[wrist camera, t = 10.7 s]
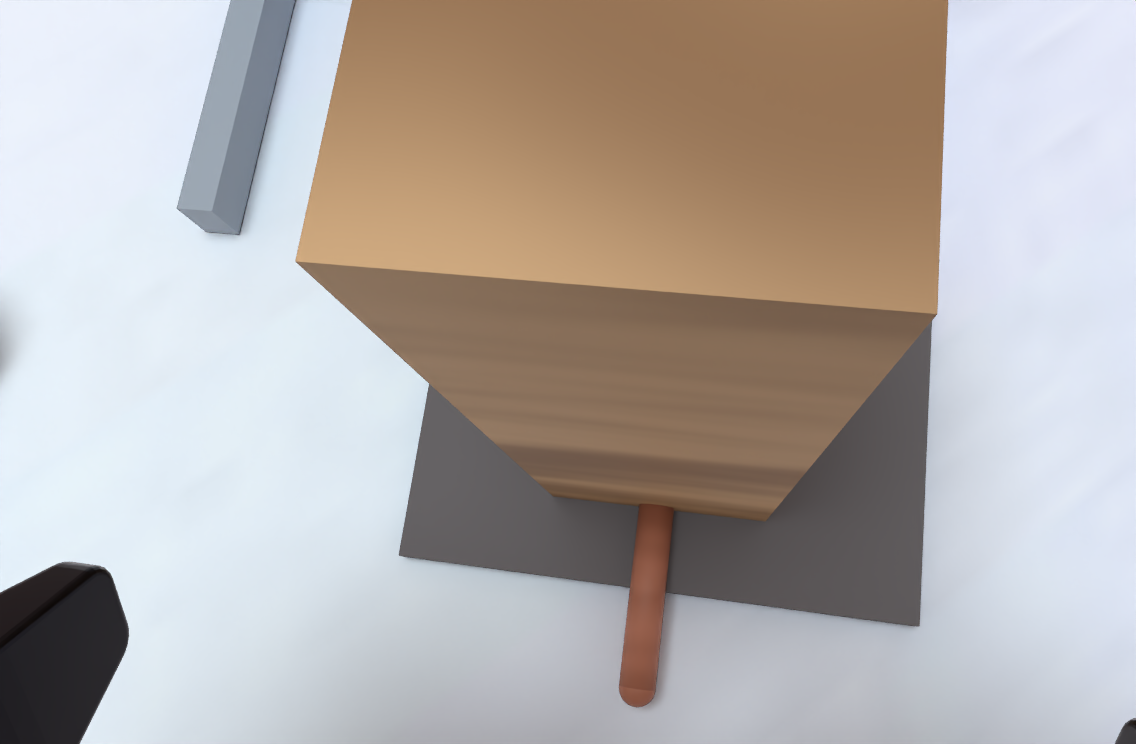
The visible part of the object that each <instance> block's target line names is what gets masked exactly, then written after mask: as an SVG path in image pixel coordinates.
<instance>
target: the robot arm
mask: <svg viewBox="0 0 1136 744" xmlns="http://www.w3.org/2000/svg"><path fill="white" fill-rule="evenodd" d="M128 638H129V628H128V623H127V620H126V617H125V614H124V611H123V608H122V605H121V602H120V599H119V596H118V593H117V590H116V587H115V584H114V581H113V578H112V576H111V574H110V573H109V572H108V571H107V570H106V569H105V568H104V567H101V566H97V565H90V564H83V563H77V562H62V563H58V564H56V565H54V566H52V567H50V568H48V569H46V570H44V571H42V572H40V573H38V574H36V575H34V576H32V577H30V578H28V579H26V580H24V581H22V582H20V583H18V584H16V585H14V586H12V587H10V588H8V589H6V590H4V591H3V592H1V593H0V744H80V742H81V740H82V738H83V736H84V734H85V732H86V730H87V728H88V726H89V724H90V722H91V720H92V718H93V716H94V714H95V712H96V710H97V708H98V706H99V704H100V702H101V700H102V698H103V696H104V694H105V692H106V690H107V688H108V686H109V684H110V682H111V680H112V678H113V676H114V674H115V672H116V670H117V668H118V666H119V664H120V662H121V660H122V658H123V656H124V653H125V651H126V648H127V644H128ZM1115 744H1136V718H1133V719H1131V720H1130V721H1128V722H1127V723H1125V725H1124V726H1123V728H1122V730H1121V732H1120V734H1119V736H1118V738H1117V740H1116V742H1115Z"/></svg>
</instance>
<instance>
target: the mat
mask: <svg viewBox="0 0 1136 744" xmlns="http://www.w3.org/2000/svg"><path fill="white" fill-rule="evenodd" d="M931 327H932V321H931V322H930V323H929V324H928V326H927V327H926V328H925V329H924V331H923V332H922V333H921V334H920V335H919V337H918V338H917V339H916V340H915V341H914V343H913V344H912V345H911V346H910V347H909V349H908V350H907V351H906V352H905V353H904V355H903V356H902V357H901V358H900V360H899V361H898V362H897V363H896V364H895V366H894V367H893V368H892V369H891V370H890V372H889V373H888V374H887V375H886V376H885V378H884V379H883V380H882V381H881V382H880V384H879V385H878V386H877V387H876V388H875V390H874V391H873V392H872V393H871V395H870V396H869V397H868V398H867V399H866V401H865V402H864V403H863V404H862V405H861V407H860V408H859V409H858V410H857V411H856V413H855V414H854V415H853V416H852V417H851V419H850V420H849V421H848V422H847V423H846V425H845V426H844V427H843V428H842V430H841V431H840V432H839V433H838V434H837V436H836V437H835V438H834V439H833V440H832V442H831V443H830V444H829V445H828V446H827V448H826V449H825V450H824V451H823V452H822V454H821V455H820V456H819V457H818V458H817V460H816V461H815V462H814V463H813V465H812V466H811V467H810V468H809V469H808V471H807V472H806V473H805V474H804V475H803V477H802V478H801V479H800V480H799V481H798V483H797V484H796V485H795V486H794V487H793V489H792V490H791V491H790V492H789V494H788V495H787V496H786V497H785V498H784V500H783V501H782V502H781V503H780V504H779V506H778V507H777V508H776V509H775V510H774V512H773V513H772V514H771V515H770V516H769V518H768V519H767V520H766V521H757V520H749V519H740V518H732V517H723V516H715V515H707V514H698V513H690V512H681V511H674V514H673V523H672V533H671V543H670V553H669V562H668V572H667V582H666V591H665V592H668V593H676V594H683V595H690V596H698V597H705V598H712V599H720V600H727V601H734V602H742V603H749V604H756V605H764V606H771V607H778V608H786V609H793V610H800V611H808V612H815V613H822V614H830V615H837V616H844V617H852V618H859V619H866V620H874V621H881V622H888V623H896V624H903V625H910V626H919V624H920V600H921V575H922V550H923V525H924V500H925V476H926V451H927V426H928V401H929V376H930V352H931ZM638 513H639V506H631V505H622V504H614V503H605V502H597V501H589V500H580V499H572V498H563V497H555V496H552V495H551V494H550V493H549V492H548V491H547V490H545V489H544V488H543V487H542V486H541V485H540V484H539V483H538V482H537V481H536V480H534V479H533V478H532V477H531V476H530V475H529V474H528V473H527V472H526V471H525V470H523V469H522V468H521V467H520V466H519V465H518V464H517V463H516V462H515V461H514V460H513V459H511V458H510V457H509V456H508V455H507V454H506V453H505V452H504V451H503V450H502V449H500V448H499V447H498V446H497V445H496V444H495V443H494V442H493V441H492V440H491V439H490V438H488V437H487V436H486V435H485V434H484V433H483V432H482V431H481V430H480V429H479V428H477V427H476V426H475V425H474V424H473V423H472V422H471V421H470V420H469V419H468V418H466V417H465V416H464V415H463V414H462V413H461V412H460V411H459V410H458V409H457V408H456V407H454V406H453V405H452V404H451V403H450V402H449V401H448V400H447V399H446V398H445V397H443V396H442V395H441V394H440V393H439V392H438V391H437V390H436V389H435V388H434V387H433V386H431V385H430V384H429V388H428V393H427V399H426V405H425V410H424V416H423V422H422V427H421V433H420V438H419V444H418V450H417V455H416V461H415V467H414V472H413V478H412V483H411V489H410V495H409V500H408V506H407V512H406V517H405V523H404V528H403V534H402V540H401V545H400V551H399V556H404V557H412V558H419V559H426V560H434V561H441V562H448V563H456V564H463V565H470V566H478V567H485V568H492V569H500V570H507V571H514V572H522V573H529V574H536V575H544V576H551V577H558V578H566V579H573V580H580V581H588V582H595V583H602V584H610V585H617V586H624V587H630V584H631V575H632V566H633V557H634V548H635V539H636V530H637V522H638Z"/></svg>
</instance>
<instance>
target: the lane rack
mask: <svg viewBox="0 0 1136 744" xmlns="http://www.w3.org/2000/svg"><path fill="white" fill-rule="evenodd" d="M294 3H295V0H231V1H230V5H229V9H228V13H227V17H226V20H225V24H224V28H223V32H222V36H221V40H220V44H219V47H218V51H217V55H216V59H215V63H214V67H213V70H212V74H211V78H210V82H209V86H208V90H207V94H206V97H205V101H204V105H203V109H202V113H201V117H200V120H199V124H198V128H197V132H196V136H195V140H194V144H193V147H192V151H191V155H190V159H189V163H188V167H187V171H186V174H185V178H184V182H183V186H182V190H181V194H180V197H179V201H178V205H177V209H178V210H179V211H180V212H182V213H183V214H184V215H185V216H187V217H188V218H189V219H190V220H192V221H193V222H194V223H195V224H197V225H198V226H199V227H200V228H202V229H203V230H204V231H205V232H216V233H228V234H239V232H240V228H241V224H242V219H243V215H244V211H245V207H246V203H247V199H248V194H249V190H250V186H251V182H252V178H253V174H254V170H255V165H256V161H257V157H258V153H259V149H260V145H261V140H262V136H263V132H264V128H265V124H266V120H267V115H268V111H269V107H270V103H271V99H272V95H273V90H274V86H275V82H276V78H277V74H278V70H279V65H280V61H281V57H282V53H283V49H284V45H285V40H286V36H287V32H288V28H289V24H290V20H291V15H292V11H293V7H294Z"/></svg>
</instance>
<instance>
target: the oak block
mask: <svg viewBox="0 0 1136 744" xmlns="http://www.w3.org/2000/svg"><path fill="white" fill-rule="evenodd" d="M947 17H948V0H352V4H351V9H350V13H349V18H348V22H347V27H346V32H345V36H344V41H343V45H342V50H341V55H340V59H339V64H338V68H337V73H336V77H335V82H334V87H333V91H332V96H331V100H330V105H329V109H328V114H327V119H326V123H325V128H324V132H323V137H322V142H321V146H320V151H319V155H318V160H317V164H316V169H315V174H314V178H313V183H312V187H311V192H310V197H309V201H308V206H307V210H306V215H305V219H304V224H303V229H302V233H301V238H300V242H299V247H298V251H297V256H296V262H297V263H298V264H299V265H300V266H301V267H302V268H303V269H304V270H305V271H306V272H308V273H309V274H310V275H311V276H312V277H313V278H314V279H315V280H316V281H317V282H319V283H320V284H321V285H322V286H323V287H324V288H325V289H326V290H327V291H328V292H329V293H331V294H332V295H333V296H334V297H335V298H336V299H337V300H338V301H339V302H340V303H342V304H343V305H344V306H345V307H346V308H347V309H348V310H349V311H350V312H351V313H353V314H354V315H355V316H356V317H357V318H358V319H359V320H360V321H361V322H362V323H363V324H365V325H366V326H367V327H368V328H369V329H370V330H371V331H372V332H373V333H374V334H376V335H377V336H378V337H379V338H380V339H381V340H382V341H383V342H384V343H385V344H386V345H388V346H389V347H390V348H391V349H392V350H393V351H394V352H395V353H396V354H397V355H399V356H400V357H401V358H402V359H403V360H404V361H405V362H406V363H407V364H408V365H409V366H411V367H412V368H413V369H414V370H415V371H416V372H417V373H418V374H419V375H420V376H422V377H423V378H424V379H425V380H426V381H427V382H428V383H429V384H430V385H431V386H433V387H434V388H435V389H436V390H437V391H438V392H439V393H440V394H441V395H442V396H443V397H445V398H446V399H447V400H448V401H449V402H450V403H451V404H452V405H453V406H454V407H456V408H457V409H458V410H459V411H460V412H461V413H462V414H463V415H464V416H465V417H466V418H468V419H469V420H470V421H471V422H472V423H473V424H474V425H475V426H476V427H477V428H479V429H480V430H481V431H482V432H483V433H484V434H485V435H486V436H487V437H488V438H490V439H491V440H492V441H493V442H494V443H495V444H496V445H497V446H498V447H499V448H500V449H502V450H503V451H504V452H505V453H506V454H507V455H508V456H509V457H510V458H511V459H513V460H514V461H515V462H516V463H517V464H518V465H519V466H520V467H521V468H522V469H523V470H525V471H526V472H527V473H528V474H529V475H530V476H531V477H532V478H533V479H534V480H536V481H537V482H538V483H539V484H540V485H541V486H542V487H543V488H544V489H545V490H547V491H548V492H549V493H550V494H551V495H552V496H555V497H563V498H572V499H580V500H589V501H597V502H605V503H614V504H622V505H631V506H639V513H638V522H637V530H636V539H635V548H634V557H633V566H632V575H631V584H630V593H629V602H628V611H627V619H626V628H625V637H624V646H623V655H622V664H621V673H620V682H619V692H620V695H621V697H622V699H623V700H624V701H625V702H626V703H627V704H628V705H630V706H633V707H642V706H645V705H647V704H648V703H649V702H650V701H651V700H652V699H653V697H654V694H655V688H656V679H657V669H658V659H659V650H660V640H661V630H662V620H663V611H664V601H665V591H666V582H667V572H668V562H669V553H670V543H671V533H672V523H673V514H674V511H681V512H690V513H698V514H707V515H715V516H723V517H732V518H740V519H749V520H757V521H766V520H767V519H768V518H769V516H770V515H771V514H772V513H773V512H774V510H775V509H776V508H777V507H778V506H779V504H780V503H781V502H782V501H783V500H784V498H785V497H786V496H787V495H788V494H789V492H790V491H791V490H792V489H793V487H794V486H795V485H796V484H797V483H798V481H799V480H800V479H801V478H802V477H803V475H804V474H805V473H806V472H807V471H808V469H809V468H810V467H811V466H812V465H813V463H814V462H815V461H816V460H817V458H818V457H819V456H820V455H821V454H822V452H823V451H824V450H825V449H826V448H827V446H828V445H829V444H830V443H831V442H832V440H833V439H834V438H835V437H836V436H837V434H838V433H839V432H840V431H841V430H842V428H843V427H844V426H845V425H846V423H847V422H848V421H849V420H850V419H851V417H852V416H853V415H854V414H855V413H856V411H857V410H858V409H859V408H860V407H861V405H862V404H863V403H864V402H865V401H866V399H867V398H868V397H869V396H870V395H871V393H872V392H873V391H874V390H875V388H876V387H877V386H878V385H879V384H880V382H881V381H882V380H883V379H884V378H885V376H886V375H887V374H888V373H889V372H890V370H891V369H892V368H893V367H894V366H895V364H896V363H897V362H898V361H899V360H900V358H901V357H902V356H903V355H904V353H905V352H906V351H907V350H908V349H909V347H910V346H911V345H912V344H913V343H914V341H915V340H916V339H917V338H918V337H919V335H920V334H921V333H922V332H923V331H924V329H925V328H926V327H927V326H928V324H929V323H930V322H931V321H932V320H933V318H934V317H935V316H936V315H937V305H938V276H939V247H940V218H941V190H942V161H943V132H944V103H945V74H946V46H947Z"/></svg>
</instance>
